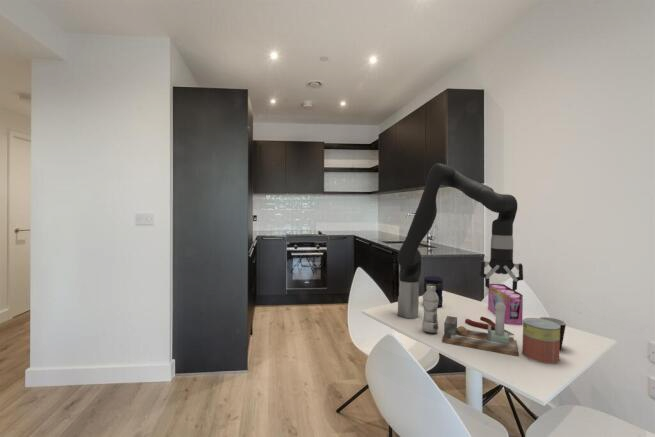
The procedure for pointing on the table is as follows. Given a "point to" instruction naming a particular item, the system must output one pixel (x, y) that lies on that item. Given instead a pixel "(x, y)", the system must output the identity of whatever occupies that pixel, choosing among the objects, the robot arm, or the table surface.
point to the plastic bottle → (430, 309)
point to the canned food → (541, 340)
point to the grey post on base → (498, 326)
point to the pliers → (484, 326)
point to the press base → (475, 339)
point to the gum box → (506, 302)
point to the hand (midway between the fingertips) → (500, 289)
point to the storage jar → (439, 286)
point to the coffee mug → (560, 328)
